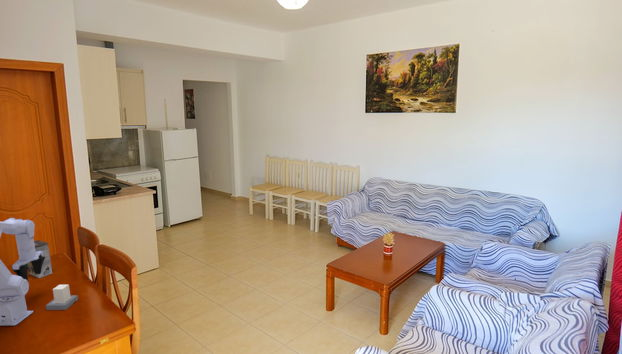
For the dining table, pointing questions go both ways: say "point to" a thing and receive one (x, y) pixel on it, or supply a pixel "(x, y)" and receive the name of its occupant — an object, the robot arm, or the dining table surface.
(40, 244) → the coffee box
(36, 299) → the dining table surface
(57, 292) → the cream block
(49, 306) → the gray base
